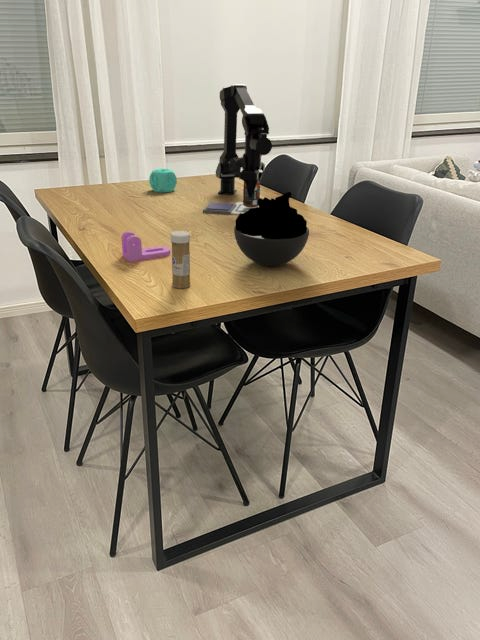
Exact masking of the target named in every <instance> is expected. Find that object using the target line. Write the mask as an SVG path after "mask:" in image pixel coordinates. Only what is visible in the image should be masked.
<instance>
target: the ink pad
mask: <svg viewBox="0 0 480 640" xmlns="http://www.w3.org/2000/svg"><path fill="white" fill-rule="evenodd" d="M236 206H237V204H236V203H231V202H230V203H229V202H228V203H226V202H216V201H215V202H214V201H212V202H209V203H208V204H207V205H206V206H205V207H204V208H203V209H202V213H206V214H219V215H220V214H221V215H232V214H231V212H232V211H233V210H234V208H235V207H236Z"/></svg>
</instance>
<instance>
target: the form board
mask: <svg viewBox="0 0 480 640" xmlns="http://www.w3.org/2000/svg"><path fill="white" fill-rule="evenodd" d="M235 204H237V206H236V207H235V208H234V210H233V211H232V212H231V214H230V215H236V216H237V215H238V216H239V214H240V213H241V214H243V213H245V212H247V211H248V210H249V209H252V208H255V207H245V206H244V205H243V201H242V202H237V201H236V203H235ZM258 207H259V206H258Z"/></svg>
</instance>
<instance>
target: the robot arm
mask: <svg viewBox="0 0 480 640" xmlns="http://www.w3.org/2000/svg"><path fill="white" fill-rule="evenodd" d="M219 101H220V106H221V108H222V109H223V111H224V127H223V128H224V133H223V135H224V136H223V137H224V138H223V152H222V154H221V155H220V156H219V160H218V161H219V162H218V164H217V167H216V169H215V177H216V178H217V179H220V189H219V191H218V192H217V193H218V195H219V194H220V195H221V194H222V195H235V194H236V192H238V191H237V189H235V188H236V187H235V183H236V178H237V179H239V180H241V181H243V183H244V182H245V183H246V187H247V191H248V196H249V197H252V195H253V192H254V190H255V187H256V185H257V182H258V180H259V181H260V182H261V179H262V177H263V174H264V172H265V169H266V165H265V163H264V162H262V157H263V156H267V155H268V154H269V153H271V151H272V149H273V144H272V141H271V139H270V138H268V135H269V134H270V132H269V131H270V127H269V124H268V121H267V120H268V119H267V118H266V115H265V114H264V112H263V111H262V110H261V108H258V107H257V106H255V104H254V101H253V100H252V98H251V96H250V94H249V92H248V89H247V85H246V84H244V83H243V84H242V83H240V84H239V83H238V84H237V83H234V84H232V85H230V86H227V87H223V88H222V89H221V90H220V91H219ZM239 111H240V112H241V114H242V118H241V125H242V127H243V128H242V129H243V131H244V153H243V154H242V156H241V157H240V156H239V155H238V153H237V129H238V128H237V127H238V126H237V125H238V113H239Z"/></svg>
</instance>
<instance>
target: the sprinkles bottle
mask: <svg viewBox="0 0 480 640" xmlns="http://www.w3.org/2000/svg"><path fill="white" fill-rule="evenodd" d="M190 241H191V234H190V232H188V231H187V230H175V231H173V232H171V233H170V242H171V275H172V283H171V285H172V287H173V288H174V289H187V288H189V287H190V286H191V279H190V278H191V254H190V253H191V251H190V243H191V242H190Z"/></svg>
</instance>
